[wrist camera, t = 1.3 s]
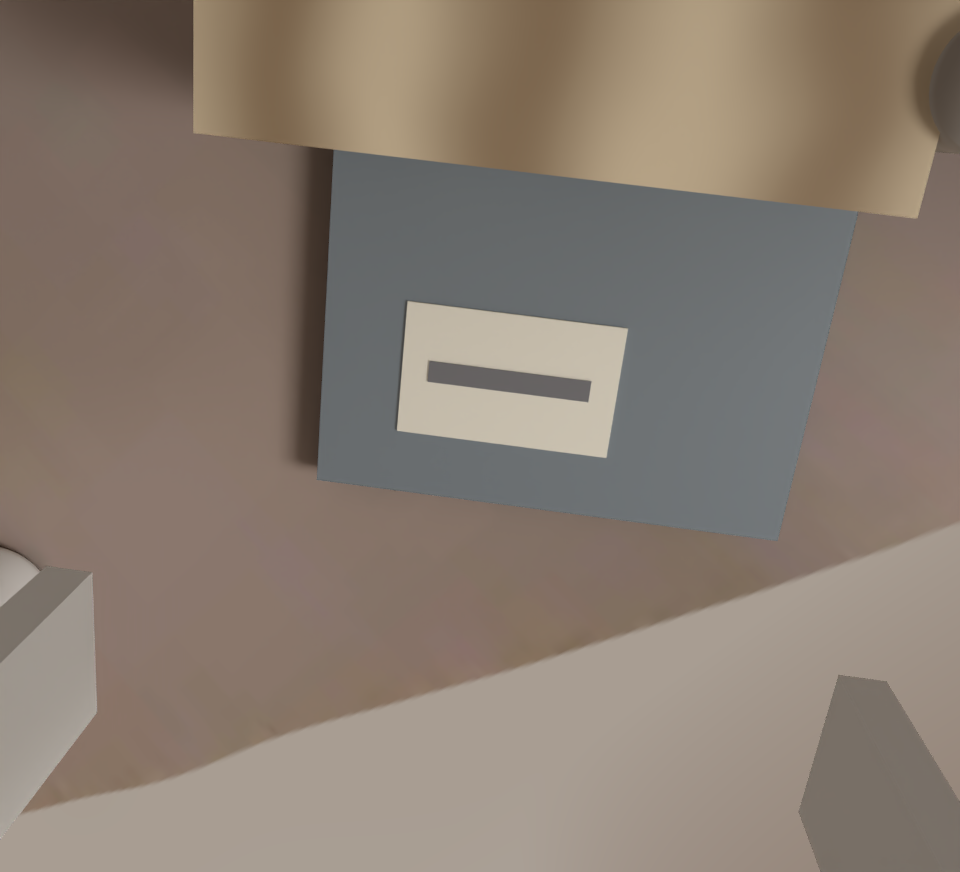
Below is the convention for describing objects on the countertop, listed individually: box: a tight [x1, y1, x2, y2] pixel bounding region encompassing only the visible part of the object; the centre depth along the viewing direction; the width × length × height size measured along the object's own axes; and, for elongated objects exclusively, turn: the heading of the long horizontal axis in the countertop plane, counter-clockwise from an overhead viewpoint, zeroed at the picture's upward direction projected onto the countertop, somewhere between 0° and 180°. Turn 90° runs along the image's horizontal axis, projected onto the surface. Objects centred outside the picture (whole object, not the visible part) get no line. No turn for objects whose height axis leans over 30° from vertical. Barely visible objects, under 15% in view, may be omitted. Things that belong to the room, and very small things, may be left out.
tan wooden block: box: [193, 0, 960, 218], centre depth 24 cm, size 20×6×9 cm, turn 84°
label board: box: [317, 150, 858, 541], centre depth 31 cm, size 19×22×2 cm
